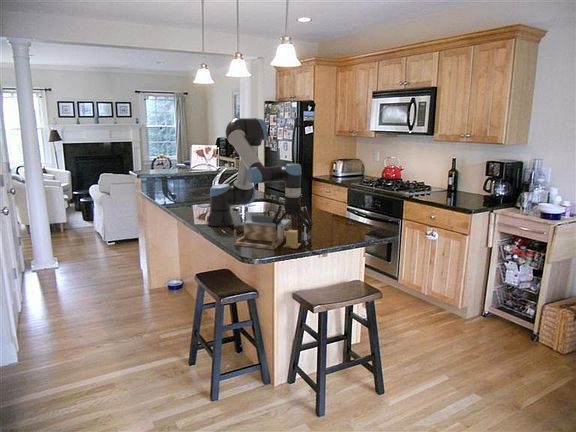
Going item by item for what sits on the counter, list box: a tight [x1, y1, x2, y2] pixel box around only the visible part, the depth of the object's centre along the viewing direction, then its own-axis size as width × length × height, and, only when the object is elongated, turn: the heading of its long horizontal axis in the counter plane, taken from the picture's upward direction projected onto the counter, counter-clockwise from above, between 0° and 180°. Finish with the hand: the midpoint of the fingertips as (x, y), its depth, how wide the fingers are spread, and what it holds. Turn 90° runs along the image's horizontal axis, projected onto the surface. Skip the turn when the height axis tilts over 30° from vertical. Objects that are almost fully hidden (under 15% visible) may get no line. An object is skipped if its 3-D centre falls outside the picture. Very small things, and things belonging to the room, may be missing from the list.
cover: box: [243, 214, 292, 227], centre depth 228 cm, size 21×14×4 cm, turn 73°
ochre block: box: [285, 229, 299, 246], centre depth 214 cm, size 4×4×7 cm
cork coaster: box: [282, 243, 302, 249], centre depth 215 cm, size 7×7×1 cm
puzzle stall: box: [233, 221, 292, 250], centre depth 224 cm, size 21×28×8 cm
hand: (292, 238), depth 214 cm, fingers open, 13 cm apart
